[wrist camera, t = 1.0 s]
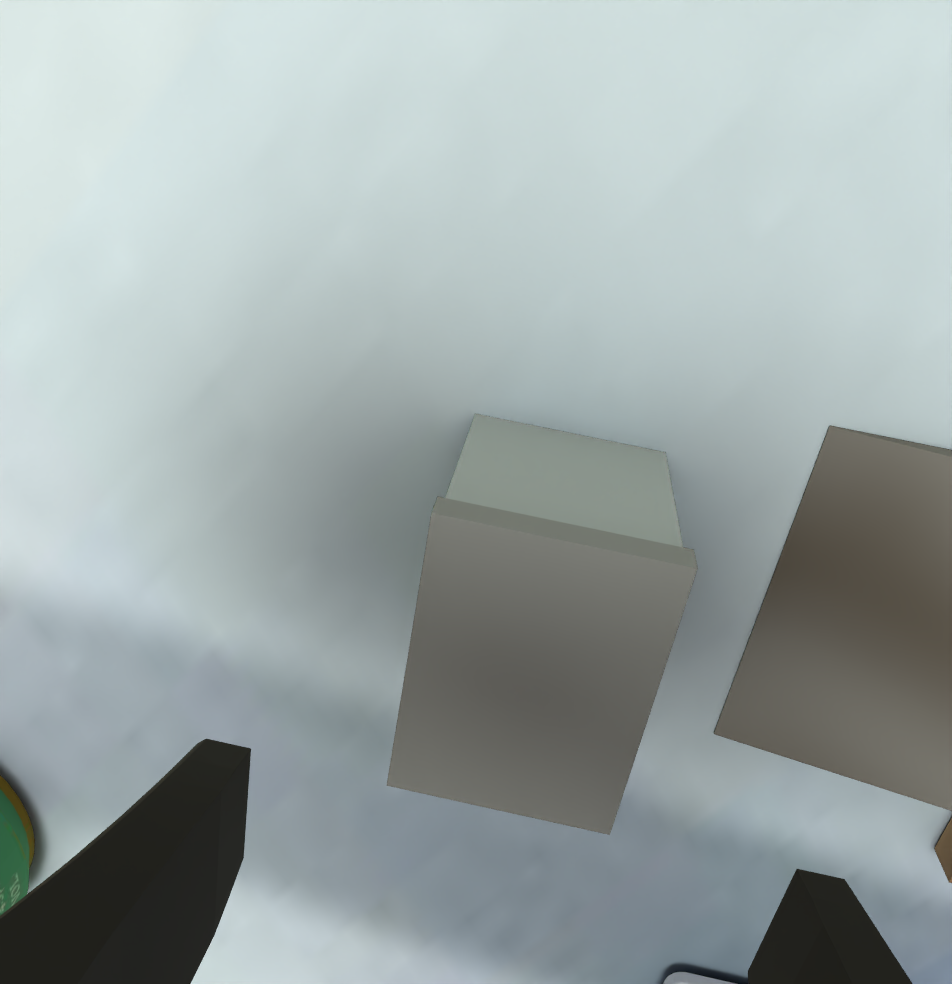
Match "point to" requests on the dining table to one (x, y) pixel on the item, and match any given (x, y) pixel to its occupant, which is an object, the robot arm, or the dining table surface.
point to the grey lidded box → (541, 624)
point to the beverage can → (14, 847)
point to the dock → (860, 625)
